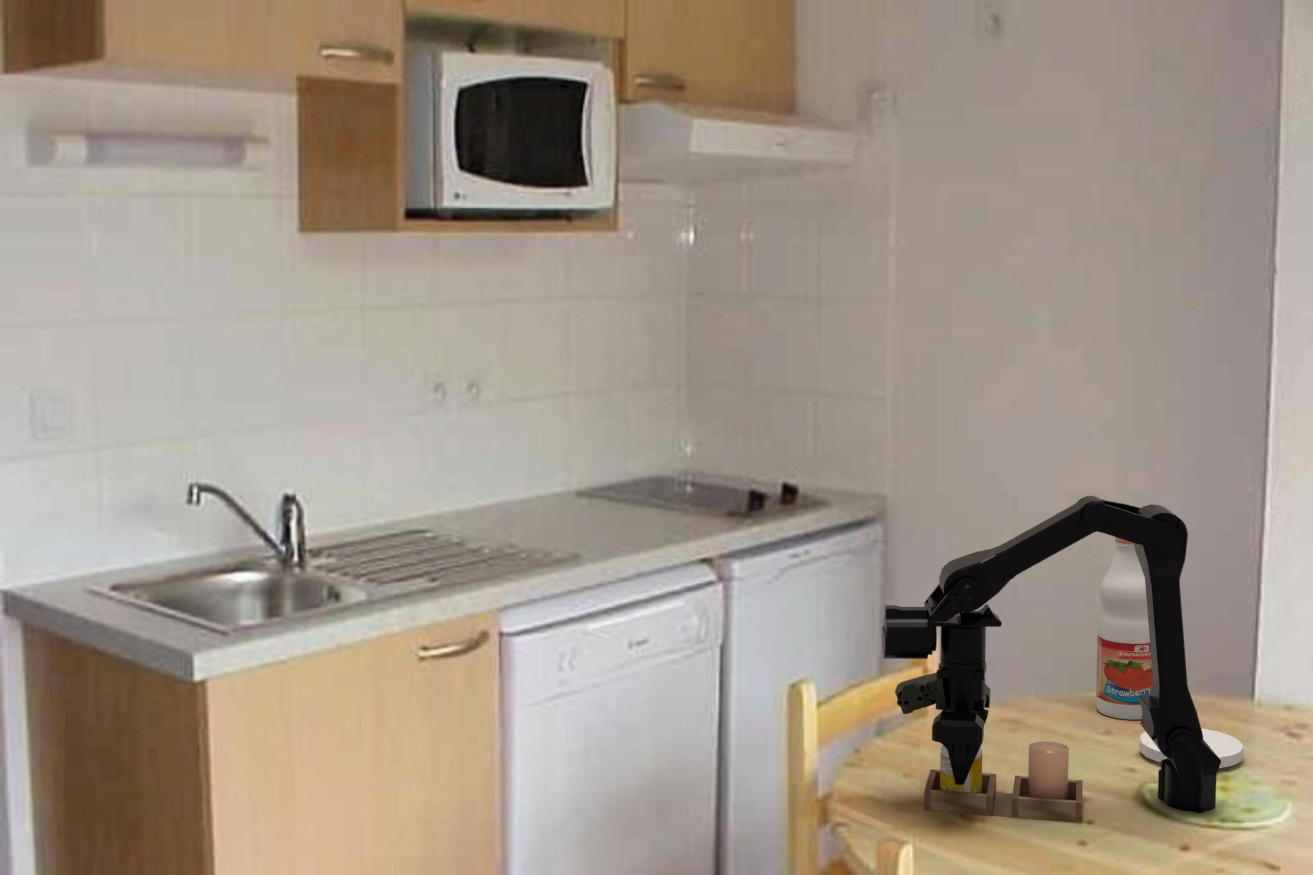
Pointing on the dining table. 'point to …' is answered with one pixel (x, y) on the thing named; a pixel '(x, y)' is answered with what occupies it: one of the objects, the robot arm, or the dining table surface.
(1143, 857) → the dining table surface
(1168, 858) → the dining table surface
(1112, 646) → the fruit juice
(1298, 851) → the dining table surface
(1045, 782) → the pink cylinder
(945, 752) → the supplement bottle
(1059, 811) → the rack
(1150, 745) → the plastic lid
